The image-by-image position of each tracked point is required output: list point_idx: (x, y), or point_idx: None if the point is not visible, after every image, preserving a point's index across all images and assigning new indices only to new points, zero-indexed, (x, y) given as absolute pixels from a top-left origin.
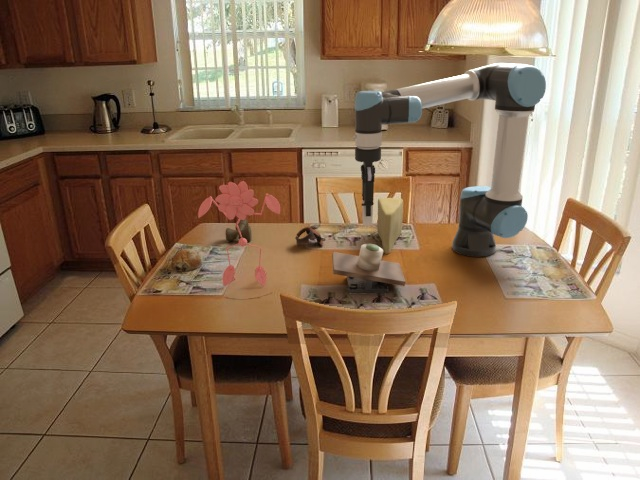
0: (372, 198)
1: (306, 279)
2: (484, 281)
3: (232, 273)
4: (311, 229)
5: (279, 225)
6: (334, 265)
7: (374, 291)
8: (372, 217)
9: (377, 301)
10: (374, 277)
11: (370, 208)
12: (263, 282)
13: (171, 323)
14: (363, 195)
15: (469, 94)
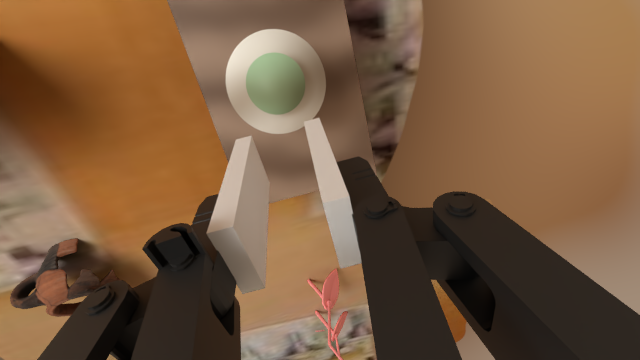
0: (549, 260)
1: (285, 215)
2: None
3: (338, 324)
4: (62, 300)
5: (4, 349)
6: None
7: None
8: (326, 140)
9: (378, 24)
10: (351, 46)
11: (387, 194)
12: (334, 274)
13: (456, 314)
14: (237, 349)
15: None
